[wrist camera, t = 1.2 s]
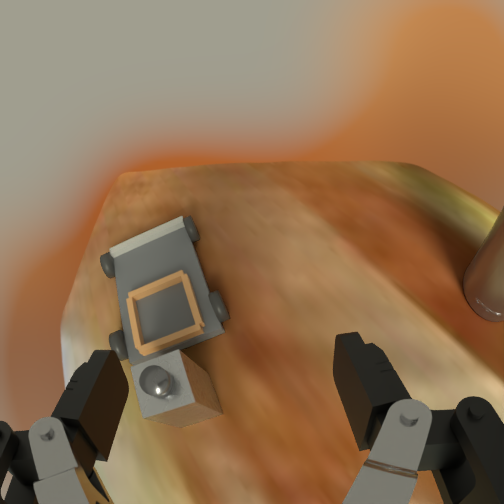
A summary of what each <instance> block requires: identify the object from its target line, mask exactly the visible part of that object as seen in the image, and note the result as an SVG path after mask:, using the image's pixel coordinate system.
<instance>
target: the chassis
mask: <svg viewBox="0 0 504 504" xmlns="http://www.w3.org/2000/svg"><path fill="white" fill-rule="evenodd" d="M197 240H200V236H199V234H198V231H197V228H196V226H195V224H194V221H193V219H192V217H191V215H190V216H188V217H186V218H183V217H182V216H181V217H178V218H176V219H174V220H171V221H169V222H167V223H164V224H162V225H160V226H158V227H155V228H153V229H151V230H149V231H146V232H144V233H142V234H140V235H138V236H135V237H133V238H131V239H129V240H127V241H124V242H122V243H120V244H118V245H116V246H114V247H112V248H110V252H108V253H106V254H103V255H101V257H100V262H101V266H102V269H103V271H104V273H105V274H106V276H107V277H109V278H113V277H116V285H117V292H118V299H119V306H120V313H121V319H122V325H123V331H124V332H123V331H121V330H118V331H116V332H113V333H111V334H110V335H109V343H110V347H111V349H112V350H114V351H115V352H116V353H117V355H118V358H119V360H120V361H123V360H125V359H128V358H129V362H130V363H131V364H132V365H134V366H135V365H137V364H140V363H143V362H146V361H148V360H151V359H154V358H157V357H159V356H162V355H165V354H167V353H170V352H173V351H175V350H178V349H179V350H182V349H184V348H187V347H190V346H192V345H195V344H197V343H200V342H202V341H205V340H207V339H210V338H212V337H215V336H217V335H220V334H222V333H225V331H224V328H223V326H222V323H221V322H223V321H226V320H228V319H230V316H229V313H228V311H227V308H226V306H225V303H224V301H223V299H222V297H221V295H220V293H219V291H218V290H216V291H214V292H212V293H210V290H209V288H208V285H207V282H206V279H205V276H204V273H203V271H202V268H201V265H200V262H199V259H198V256H197V253H196V250H195V247H194V244H193V242H195V241H197Z"/></svg>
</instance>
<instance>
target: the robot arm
mask: <svg viewBox="0 0 504 504" xmlns="http://www.w3.org/2000/svg"><path fill="white" fill-rule="evenodd" d="M463 288H464V294H465V296H466V299H467V301H468V303H469V304H470V306H471V307H472V309H473V310H474V311H475V312H476V313H477V314H478V315H479V316H481V317H482V318H484V319H486V320H489V321H494V322H499V321H503V320H504V207H503V208H502V210H501V212H500V214H499V216H498V218H497V220H496V221H495V223H494V225H493V227H492V229H491V230H490V232H489V234H488V236H487V237H486V239H485V241H484V242H483V244H482V246H481V247H480V249H479V250H478V252H477V254H476V255H475V257H474V258H473V260H472V261H471V263H470V265H469V266H468V268H467V269H466V272H465V274H464V278H463ZM333 376H334V381H335V384H336V387H337V390H338V393H339V395H340V398H341V401H342V403H343V406H344V409H345V412H346V414H347V417H348V420H349V423H350V426H351V428H352V431H353V434H354V437H355V440H356V443H357V445H358V448H359V451H362V450H366V449H370V451H371V452H370V454H369V456H368V458H367V460H366V461H365V462H364V464H363V466H362V468H361V470H360V472H359V474H358V476H357V477H356V479H355V481H354V483H353V485H352V487H351V489H350V490H349V492H348V494H347V496H346V498H345V499H344V501H343V503H342V504H408V503H409V501H410V498H411V495H412V493H413V490H414V487H415V485H416V482H417V478H418V474H416V473H417V471H426V470H431V471H432V473H433V476H434V478H435V481H436V484H437V486H438V489H439V491H440V494H441V497H442V500H443V502H444V504H504V424H503V422H502V421H501V419H500V418H499V416H498V414H497V413H496V411H495V410H494V408H493V407H492V405H491V404H490V403H489V402H488V401H486V400H485V399H483V398H480V397H475V396H472V397H467V398H464V399H463V400H461V401H460V402H459V404H458V405H457V407H456V409H452V410H430V409H429V408H428V406H427V405H425V404H424V403H422V402H420V401H418V400H414V399H412V398H411V397H410V395H409V393H408V391H407V390H406V388H405V386H404V385H403V383H402V381H401V380H400V378H399V376H398V374H397V373H396V371H395V370H394V369H393V366H392V365H391V363H390V362H389V360H388V358H387V356H386V355H385V353H384V351H383V350H382V349H380V348H379V347H377V346H376V345H375V344H373V343H369V344H365V343H364V342H363V340H362V338H361V336H360V335H359V333H358V332H351V333H344V334H338V335H336V339H335V350H334V361H333ZM128 393H129V386H128V381H127V378H126V376H125V373H124V371H123V368H122V366H121V363H120V361H119V358H118V355H117V353H116V352H115V351H114V350H95V351H94V352H93V354H92V355H91V357H90V359H89V361H88V363H86V362H84V363H83V364H82V365H81V366H80V367H79V368H78V369H77V370H75V372H74V374H73V376H72V377H71V379H70V382H69V383H68V385H67V387H66V390H64V392H63V394H62V396H61V398H60V400H59V402H58V404H57V405H56V407H55V410H54V411H53V413H52V415H51V417H45V418H42V419H39V420H38V421H36V422H35V423H34V424H33V425H32V426H31V428H30V430H26V431H15V432H14V431H13V430H12V429H11V427H10V426H9V425H8V424H7V423H6V422H4V421H0V504H114V503H113V501H112V499H111V497H110V496H109V494H108V492H107V490H106V488H105V486H104V484H103V482H102V480H101V478H100V476H99V474H98V472H97V470H96V469H95V467H94V464H95V460H99V461H106V462H107V460H108V457H109V454H110V450H111V447H112V444H113V440H114V437H115V434H116V431H117V428H118V425H119V421H120V418H121V415H122V412H123V409H124V406H125V403H126V400H127V397H128ZM7 471H9V472H10V473H11V474H12V475H13V477H12V480H11V483H10V485H9V488H8V491H7V494H6V497H5V500H3V499H2V497H1V487H2V484H3V481H4V478H5V476H6V473H7Z"/></svg>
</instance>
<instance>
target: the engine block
mask: <svg viewBox="0 0 504 504" xmlns="http://www.w3.org/2000/svg"><path fill="white" fill-rule="evenodd" d="M131 371H132V376H133V380H134V385H135V389H136V393H137V397H138V401H139V405H140V409H141V413H142V416H143V418H144V419H147V420H151V421H155V422H159V423H163V424H167V425H171V426H176V427H180V428H183V427H186V426H189V425H193V424H196V423H199V422H202V421H205V420H208V419H211V418H214V417H217V416H220V415H222V414H223V412H222V409H221V407H220V404H219V401H218V399H217V396H216V393H215V390H214V388H213V385H212V382H211V379H210V376H209V374H208V373H207V372H206V371H204V370H203V369H202V368H201V367H200V366H198V365H197V364H196V363H195V362H193V361H192V360H191V359H190V358H189V357H187V356H186V355H185V354H184V353H183V352H182V351H180V350H179V349H178V350H175V351H173V352H170V353H167V354H165V355H162V356H159V357H157V358H154V359H151V360H148V361H146V362H143V363H140V364H137V365H135V366H132V367H131Z"/></svg>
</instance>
